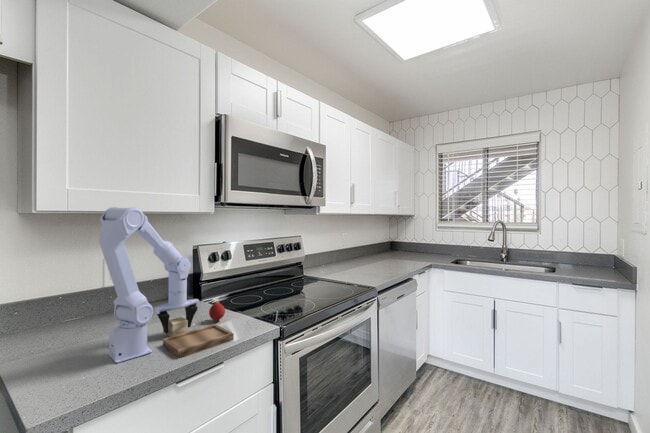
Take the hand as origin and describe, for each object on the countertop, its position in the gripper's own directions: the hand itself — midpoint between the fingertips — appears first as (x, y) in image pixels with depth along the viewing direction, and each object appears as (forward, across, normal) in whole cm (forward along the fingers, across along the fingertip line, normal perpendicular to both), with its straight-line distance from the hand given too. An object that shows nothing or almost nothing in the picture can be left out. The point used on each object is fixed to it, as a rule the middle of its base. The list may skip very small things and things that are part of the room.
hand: (177, 329), depth 108 cm
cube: (+2, 0, 0) cm, 2 cm away
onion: (+2, -16, -2) cm, 16 cm away
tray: (+2, -2, +12) cm, 12 cm away
